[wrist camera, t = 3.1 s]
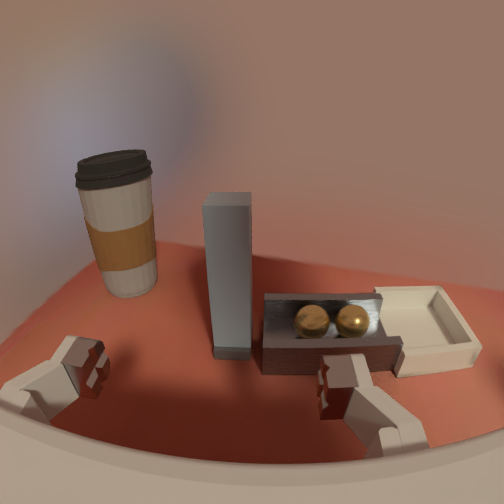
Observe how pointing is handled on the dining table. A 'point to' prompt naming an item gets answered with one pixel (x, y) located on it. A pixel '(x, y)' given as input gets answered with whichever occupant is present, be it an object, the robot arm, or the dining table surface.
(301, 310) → the brass sphere
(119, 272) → the coffee cup
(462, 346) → the ball tray
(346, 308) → the gold metallic ball
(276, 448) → the dining table surface
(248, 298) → the tall gray pillar
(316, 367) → the slot rail
